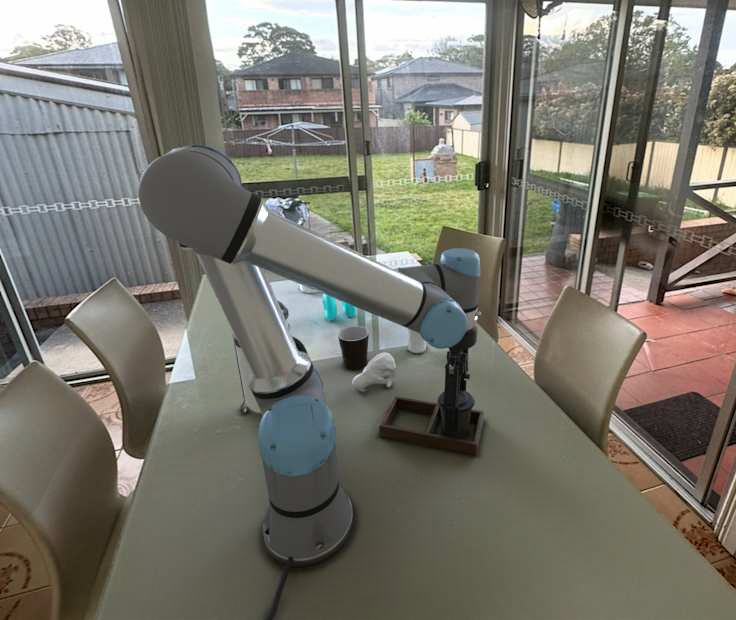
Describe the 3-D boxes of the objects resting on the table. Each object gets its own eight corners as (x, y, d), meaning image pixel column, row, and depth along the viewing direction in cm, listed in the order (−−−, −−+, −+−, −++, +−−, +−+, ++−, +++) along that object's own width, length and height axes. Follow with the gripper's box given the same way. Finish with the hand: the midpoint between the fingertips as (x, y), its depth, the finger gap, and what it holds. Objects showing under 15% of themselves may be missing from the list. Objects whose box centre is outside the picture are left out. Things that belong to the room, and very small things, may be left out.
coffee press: (237, 433, 100) (214, 314, 89) (243, 392, 114) (224, 285, 103) (315, 419, 104) (303, 304, 93) (311, 381, 118) (300, 277, 107)
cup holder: (476, 456, 93) (476, 444, 92) (379, 436, 98) (379, 425, 97) (483, 421, 103) (484, 411, 102) (395, 406, 108) (395, 395, 107)
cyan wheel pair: (357, 320, 152) (356, 294, 148) (328, 325, 148) (326, 298, 145) (350, 309, 160) (349, 283, 157) (323, 313, 157) (320, 288, 153)
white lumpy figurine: (397, 356, 113) (355, 374, 108) (400, 383, 117) (360, 401, 111) (385, 345, 118) (344, 362, 113) (389, 371, 122) (349, 389, 116)
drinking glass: (401, 352, 132) (400, 306, 127) (412, 342, 138) (412, 298, 132) (422, 357, 129) (421, 311, 124) (432, 346, 135) (432, 302, 129)
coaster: (297, 286, 181) (297, 278, 180) (321, 282, 185) (321, 274, 184) (302, 295, 173) (302, 286, 171) (327, 290, 176) (327, 282, 175)
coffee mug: (365, 374, 121) (363, 342, 118) (335, 370, 123) (333, 339, 119) (376, 352, 132) (375, 322, 128) (349, 349, 134) (347, 320, 130)
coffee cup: (433, 442, 97) (433, 404, 93) (441, 418, 104) (442, 382, 100) (469, 449, 94) (471, 411, 91) (475, 425, 102) (477, 388, 98)
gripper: (468, 353, 79) (464, 453, 87) (484, 305, 97) (479, 391, 106) (427, 347, 81) (427, 445, 89) (450, 301, 99) (448, 386, 108)
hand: (455, 416), depth 97 cm, fingers closed on coffee cup, 8 cm apart
